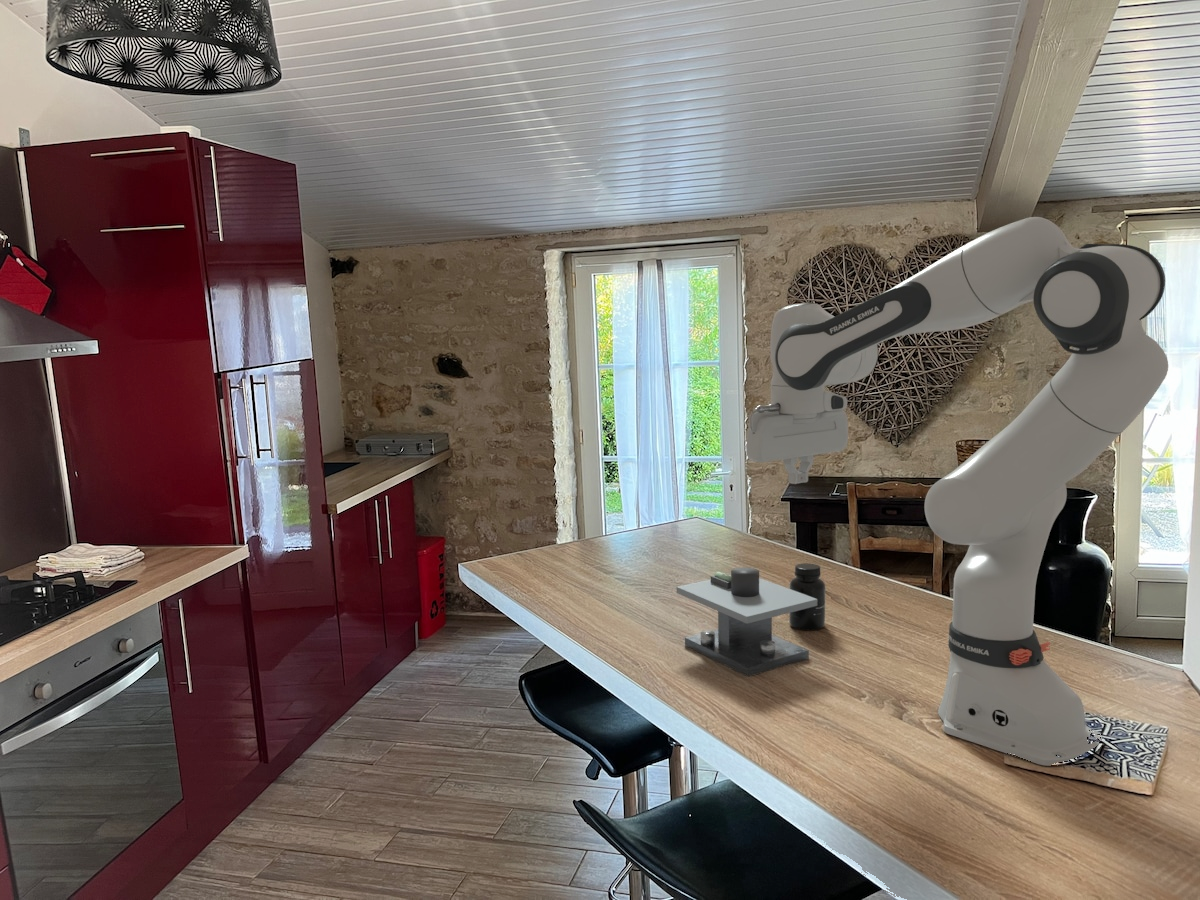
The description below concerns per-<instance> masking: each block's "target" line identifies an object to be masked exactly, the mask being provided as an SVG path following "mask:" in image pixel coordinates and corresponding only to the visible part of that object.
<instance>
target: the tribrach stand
mask: <svg viewBox="0 0 1200 900" xmlns="http://www.w3.org/2000/svg"><path fill="white" fill-rule="evenodd" d="M772 625H773V617H771V618H767V619H763V620H759V621H755V622H752V623H748V624H747V623H744V622H742V621H740V620H737V619H735V618H733V617H730V616H728V615H726V614H724V613H721V612H719V611H717V626H718V627H717V629H712V630H703V631H701V632H700V633H696V634H694V635H690V636H685V637H684V646H685V647H686V648H688V649H691V650H693V651H695V652H697V653H699V654H701V655H704V656H706V657H707V658H709V659H712V660H713V661H715V662H716V663H719V664H721V665H724V666H725V667H728V668H729V669H731V670H734V671H735V672H738V673H739V674H742V675H744V676H746V677H752V676H754V675H759V674H761V673H762V674H763V673H765V672H768V671H772V670H775V669H778V668H783V667H787V666H789V665H792V664H796V663H800V662H802V661H806V660H809V659H810V649H807V648H804V647H802V646H800V645H798V644H795V643H792V642H790V641H788V640H785V639H783V638H780V637H778V636H776V635H773V629H772V628H773V626H772Z"/></svg>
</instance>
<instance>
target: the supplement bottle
mask: <svg viewBox="0 0 1200 900" xmlns="http://www.w3.org/2000/svg"><path fill="white" fill-rule="evenodd" d="M794 566H795V567H794V578H792V579H791V580H790V582H789V589H791V590H794V591H797V592H799V593H802V594H805V595H807V596H810V597H813V598H816V599H817V606H814V607H810V608H806V609H802V610H799V611H795V612H791V613H788V614H789V616H788V618H789V624H790V627H792V628H794V629H796V630H800V631H818V630H820V629H823V627H825V625H826V624H825V623H826V622H825V621H826V620H825V619H826V584H825V582H824V580H823V579H822V578H820V577H821V566H820V565H819V564H815V563H798V564H796V565H794Z"/></svg>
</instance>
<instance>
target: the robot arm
mask: <svg viewBox="0 0 1200 900" xmlns="http://www.w3.org/2000/svg"><path fill="white" fill-rule="evenodd" d="M1165 287H1166V274H1165V271H1164V268H1163V266H1162V265H1161V262H1160V261H1159V260H1158V258H1156V256H1154V255H1153V254H1152V253H1150V252H1149V251H1147V250H1145V249H1143V248H1141V247H1137V246H1134V245H1131V244H1121V243H1120V244H1119V243H1115V244H1114V243H1113V244H1112V243H1110V244H1108V243H1107V244H1105V243H1086V244H1083V245H1082V246H1081V247H1079V248H1077V247H1074V246H1073V245H1072V244H1071V243H1070V242H1069V240H1068V239H1067V236H1066V235H1065V233H1064V231H1062V229H1061V227H1059V226H1058V225H1057V224H1055V223H1054V222H1053V221H1051V220H1049V219H1047V218H1044V217H1041V216H1040V217H1039V216H1030V217H1026V218H1023V219H1019V220H1016V221H1014V222H1011V223H1008V224H1006V225H1003V226H1001V227H998V228H996V229H993V230H991V231H989V232H987V233H985V234H982V235H981V236H979V237H976V238H975V239H973V240H971V241H969V242H967V243H965V244H964V245H962V246H960V247H959V248H956V249H954V250H953V251H952V252H950V253H948V254H946V255H945V256H943V257H942V258H940V259H938V260H937V261H935V262H933V263H932V264H931V265H930V264H929V266H927V267H926V268H924V269H921V270H920V271H919V272H917V273H916V274H914V275H912V276H910V277H908V278H907V279H905V280H903V281H901V282H900V283H898V284H897V285H895V286H893V287H891V288H890V289H888V290H886V291H884V292H882V293H880V294H878V295H876V296H874V297H872V298H870V299H868V300H866V301H863V302H861V303H860V304H858V305H856V306H853V307H852V308H849V309H847V310H846V311H843V312H841V313H840V314H837V315H835V316H834V315H833V314H831V313H829V312H828V311H826V310H825V309H824V308H823V307H822V305H820V304H818V303H815V302H803V303H798V304H790V305H786V306H784V307H781V308H780V309H778V310H777V311H776V312H775V314H774V316H773V319H772V324H771V328H770V329H771V331H770V343H769V344H770V346H769V347H770V348H769V349H770V352H769V353H770V355H769V356H770V362H771V365H772V376H771V380H770V404H767V405H758V406H756V407H755V409H753V410H752V411H751V413H750V414H749V421H748V423H749V424H748V428H747V429H748V430H747V438H746V456H747V458H748V459H749V461H751V462H756V463H767V462H774V461H775V462H776V461H781V460H782V465H783V467H784V468H785V470H786V472H787V474H788V476H787V478H788V479H787V480H788V483H789V484H791V485H797V484H803V483H808V482H809V472H810V470H811V468H812V466H813V464H814V456H817V455H823V454H830V453H837V452H843V451H845V449H846V448H847V445H848V443H849V423H848V422H849V420H848V415H847V413H846V411H845V410H846V409H847V407H848V399H847V397H846V396H843V395H841V394H837V393H835V392H832V391H829V390H827V389H825V387H827V386H834V385H835V386H836V385H841V384H847V383H848V384H849V383H854V382H858V381H860V380H863V379H865V378H867V377H868V376H869V375H871V374H872V373H873V371H874V370H875V368H876V366H877V364H878V359H879V344H881V343H884V342H885V341H888V340H891V339H894V338H897V337H898V338H899V337H903V336H907V335H915V334H920V333H921V334H923V333H935V332H947V331H957V330H961V329H965V328H969V327H973V326H977V325H980V324H984V323H986V322H988V321H991V320H993V319H996V318H998V317H1000V316H1003V315H1004V314H1006V313H1009V312H1010V311H1013V310H1015V309H1016V308H1018V307H1021V306H1023V305H1026V304H1028V303H1030V302H1033V306H1034V310H1035V312H1036V313H1035V314H1036V315H1037V317H1038V319H1039V321H1040V322H1041V323H1042V325H1044V327H1045V329H1047V330H1048V331H1049V332H1050V333H1051V334H1052V335H1054V337H1055V339H1057V342H1058V343H1059V345H1060V346H1061V347H1062V349H1064V350H1065V351H1066V352H1068V353H1071V355H1070V357H1069V358H1068V359H1067V361H1066V362H1065V363H1064V364H1063V365H1062V367H1061V368H1060V369H1059V370H1058V371H1057V372H1056V373H1055V374H1054V376H1052V377H1051V378H1050V380H1049V381H1048V382H1047V383H1046V384H1045V385H1044V387H1043V388H1042V389H1041V390H1040V391H1039V392H1038V394H1037V395H1035V396H1034V398H1033V399H1032V400H1031V401H1030V402H1029V403H1028V405H1026V406H1025V408H1024V409H1022V411H1021V412H1020V413H1019V414H1018V416H1016V417H1015V418H1014V420H1012V421H1011V422H1010V423H1009V424H1008V425H1007V426H1006V427H1004V428H1003V429H1002V430H1000V432H998V433H997V434H995V436H993V437H992V438H990V440H988V441H987V442H986V443H984V444H983V445H982V446H981V447H979V448H978V449H977V450H976V451H975V452H974V453H973V454H972V455H970V456H969V457H968V458H967V459H966V460H965V461H963V462H962V463H961V464H960V465H959V466H957V467H956V468H955V469H954V470H953V471H951V472H950V473H948V474H946V475H945V476H943V477H942V478H940V479H939V480H937V481H935V483H934V484H933V485H932V486H931V487H930V488H929V489H928V491H927V493H926V494H925V499H924V506H923V508H924V515H925V518H926V522H927V524H928V526H929V527H930V529H931V531H932V532H933V533H934V535H936V536H937V537H938V538H940V540H942V541H944V542H946V543H949V544H952V545H961V546H968V549H967V552H966V553H965V556H964V557H963V559H962V561H961V563H960V564H959V565H958V566H957V568H956V570H955V572H954V577H953V592H952V593H953V595H952V619H951V620H952V621H951V622H950V623H949V627H948V644H947V645H948V649H949V652H950V657H949V666H948V673H947V677H946V678H947V679H946V683H945V687H944V692H943V694H942V699H941V702H940V704H939V707H938V709H937V713H938V715H939V717H940V719H941V721H942V722H943V725H942V730H943V732H944V733H945V734H948V735H950V736H953V737H956V738H959V739H962V740H964V741H968V742H971V743H973V744H976V745H981V746H983V747H985V748H989V749H992V750H995V751H998V752H1001V753H1003V754H1007V753H1008V754H1007V755H1010V753H1011V754H1015V755H1016V756H1018V757H1020V758H1019V759H1021V758H1023V760H1024V759H1026V760H1025V761H1027V760H1028V762H1030V761H1031V763H1034V764H1037V765H1039V766H1044V767H1046V766H1047V767H1051V765H1052V764H1054V763H1055V764H1056V763H1057V762H1063V761H1068V760H1070V759H1074V758H1076V757H1079V756H1080V755H1082V754H1084V753H1085V752H1087V751H1089V750H1091V749H1093V748H1095V747H1096V746H1097V745H1099V742H1092V744H1091V741H1090V744H1088V742H1089V740H1088V741H1087V737H1090V734H1091V733H1094V734H1095V735H1094V738H1098V739H1099V740H1100V741H1101V740H1102V737H1103V736H1102V737H1101V739H1100V736H1101V734H1102V733H1101V732H1099V731H1097V730H1095V729H1093V730H1092V732H1091V729H1092V728H1091V727H1089V726H1087V724H1086V713H1085V708H1084V704H1083V701H1082V699H1081V697H1080V696H1079V695H1078V693H1076V692H1075V691H1074V690H1073V689H1072V688H1071V687H1070V686H1069V685H1068V684H1067V683H1066V682H1065V681H1064V680H1063V679H1062V678H1061V676H1060V675H1058V673H1057V672H1055V671H1054V669H1053V668H1051V666H1050V665H1049V664H1048V663H1047V662H1046V661H1045V659H1044V657H1045V656H1044V654H1043V652H1046V651H1049V650H1050V649H1051V648H1050V647H1049V646H1050V645H1051V642H1050V641H1047V642H1044V643H1041V644H1040V641H1039V639H1038V636H1037V633H1036V631H1035V629H1034V618H1035V617H1034V615H1035V600H1036V585H1037V579H1038V574H1039V570H1040V566H1041V562H1042V560H1043V556H1044V553H1045V552H1044V551H1045V550H1046V546H1047V543H1048V539H1049V536H1050V532H1051V530H1052V528H1053V525H1054V523H1055V521H1056V519H1057V518H1058V516H1059V514H1060V513H1061V512H1062V510H1063V509H1064V507H1065V505H1066V502H1067V498H1068V497H1067V496H1068V493H1067V491H1068V490H1067V483H1068V482H1069V481H1071V480H1072V479H1074V478H1075V477H1077V476H1079V475H1080V474H1081V473H1084V471H1085V470H1086V469H1087V468H1088V467H1089V466H1091V464H1092V463H1093V462H1094V461H1096V459H1097V458H1098V457H1099V456H1100V455H1101V454H1102V453H1103V452H1104V451H1105V450H1106V449H1107V448H1108V447H1109V446H1110V445H1111V444H1112V443H1113V442H1114V441H1115V440H1116V439H1117V438H1118V437H1119V436H1121V434H1122V433H1123V432H1124V431H1125V430H1127V428H1128V427H1129V426H1130V425H1131V423H1133V422H1134V421H1135V419H1137V417H1138V416H1139V415H1140V414H1141V413H1142V412H1143V410H1144V409H1145V408H1146V407H1147V405H1148V404H1149V402H1150V401H1151V400H1152V398H1153V397H1154V396H1155V394H1156V393H1157V392H1158V389H1159V388H1160V387H1161V385H1162V383H1163V381H1164V380H1165V379H1166V377H1167V375H1168V373H1169V372H1168V371H1169V360H1168V357H1167V355H1166V353H1165V351H1164V350H1163V348H1162V347H1161V345H1160V344H1159V343H1158V342H1157V341H1156V340H1154V339H1153V338H1152V337H1151V336H1149V335H1148V334H1147V332H1146V331H1145V330H1144V327H1143V323H1142V320H1143V319H1145V318H1146V317H1147V316H1149V315H1150V314H1151V313H1152V312H1153V311H1154V309H1156V308H1157V306H1158V304H1160V302H1161V300H1162V298H1163V295H1164V292H1165V290H1166V289H1165ZM1070 347H1072V348H1073V349H1072V348H1070ZM798 461H799V462H800V464H799V467H798V469H797V466H796V465H797V464H798ZM1089 730H1090V731H1089ZM1094 730H1095V731H1094ZM1088 731H1089V732H1088ZM1093 731H1094V732H1093ZM1096 731H1097V732H1096ZM1096 734H1100V736H1098V735H1096ZM1092 735H1093V734H1092ZM1091 737H1092V736H1091ZM1056 755H1058V756H1061V757H1056ZM1016 756H1015V757H1016ZM1018 757H1017V758H1018Z"/></svg>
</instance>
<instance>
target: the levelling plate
mask: <svg viewBox="0 0 1200 900" xmlns="http://www.w3.org/2000/svg"><path fill="white" fill-rule="evenodd" d="M676 594H677V595H681V596H683V597H685V598H686V599H689V600H692V601H694V602H697V603H698V604H701V605H703V606H705V607H708V608H710V609H713V610H715V611H717V612H718V611H719V612H721V613H724V614H726V615H728V616H730V617H733V618H735V619H737V620H740V621H742V622H744V623H747V624H748V623H752V622H755V621H759V620H763V619H767V618H771V617H772V618H775V617H778V616H782V615H786V614H789V613H791V612H795V611H799V610H802V609H806V608H810V607H814V606H817V599H816V598H813V597H810V596H807V595H805V594H802V593H799V592H797V591H794V590H791V589H790V588H789V587H788V588H787V587H785V586H783V585H780V584H778V583H774V582H771V581H770V580H766V579H763V578H760V570H758V569H757V568H755V567H744V566H743V567H735V568H733V569H731V570H730V574H726V573H725V572H720V571H716V572H715V573H714V575H710V579H706V580H701V581H698V582H693V583H688V584H683V585H679V586H676Z"/></svg>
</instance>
